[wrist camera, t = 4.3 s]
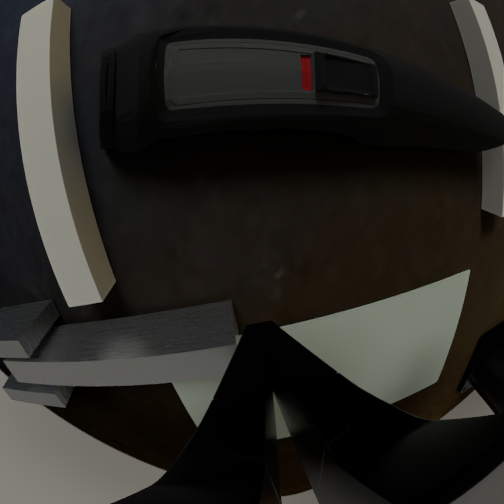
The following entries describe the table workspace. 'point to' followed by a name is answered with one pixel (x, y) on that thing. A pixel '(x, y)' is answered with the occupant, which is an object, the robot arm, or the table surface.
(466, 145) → the electric trimmer
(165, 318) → the latch bolt
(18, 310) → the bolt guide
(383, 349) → the mat
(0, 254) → the table surface
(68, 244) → the pair of white rails
